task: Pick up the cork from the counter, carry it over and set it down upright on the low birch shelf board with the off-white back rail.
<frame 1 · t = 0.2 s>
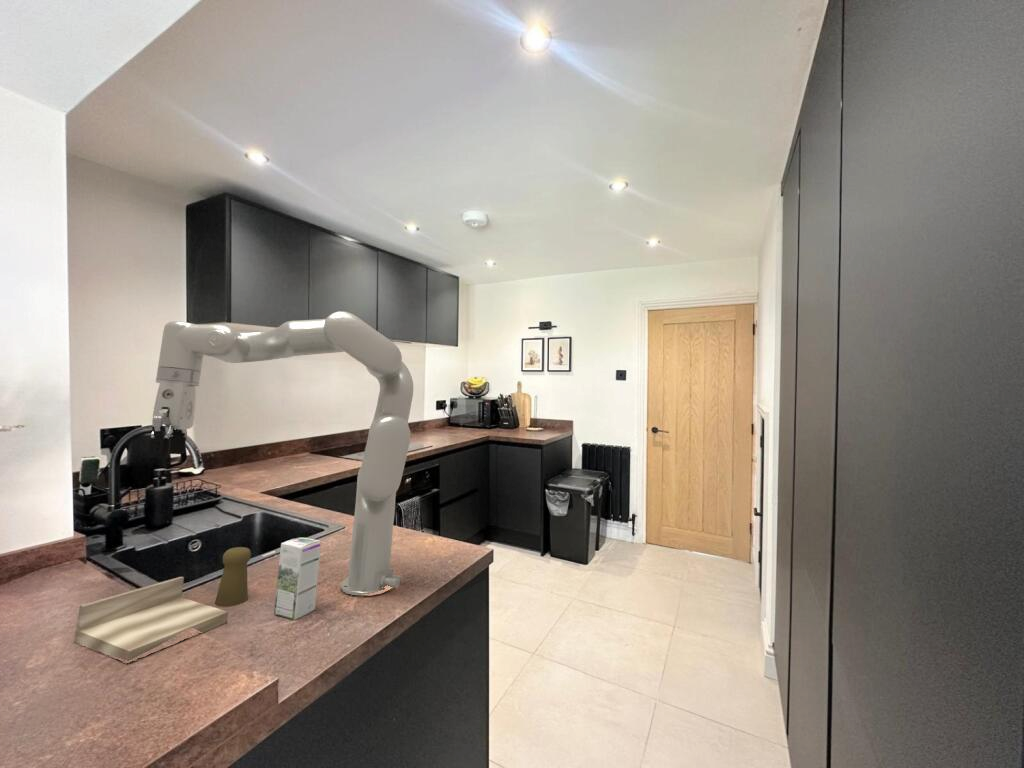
hand: (167, 455, 90), 30 cm above the counter, tool pointing down, fingers open, 9 cm apart
shelf: (155, 631, 76), on the counter
syrup box: (294, 613, 86), on the counter
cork: (231, 601, 90), on the counter
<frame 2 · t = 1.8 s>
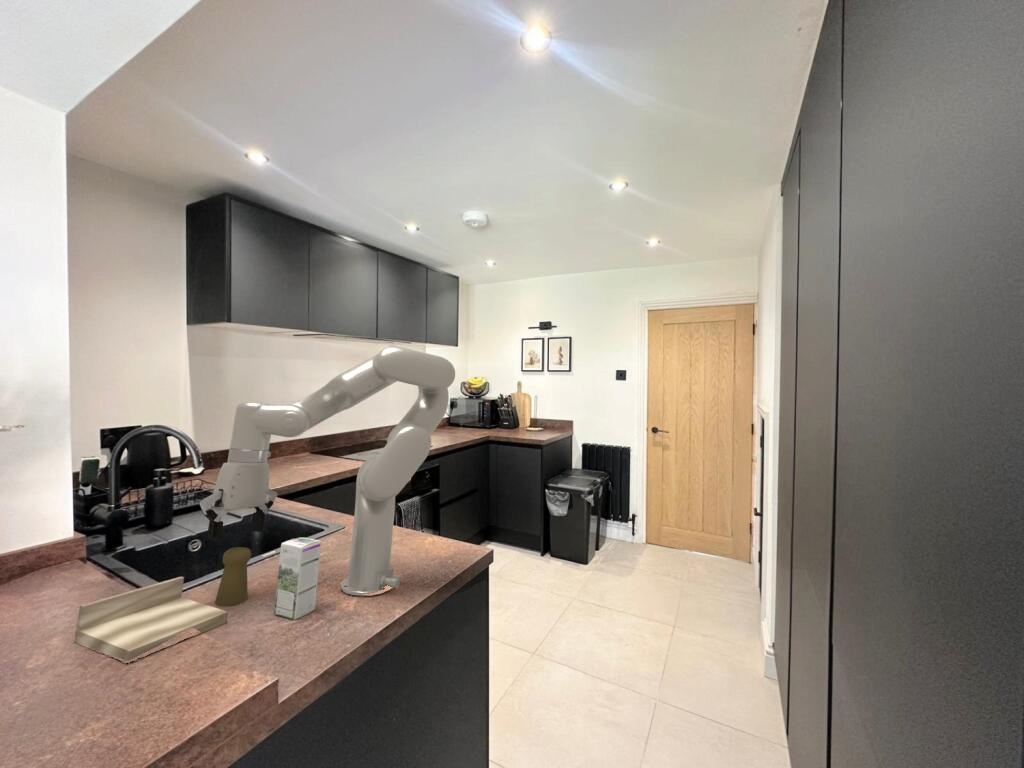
hand: (236, 535, 91), 14 cm above the counter, tool pointing down, fingers open, 9 cm apart
nothing on the counter moved.
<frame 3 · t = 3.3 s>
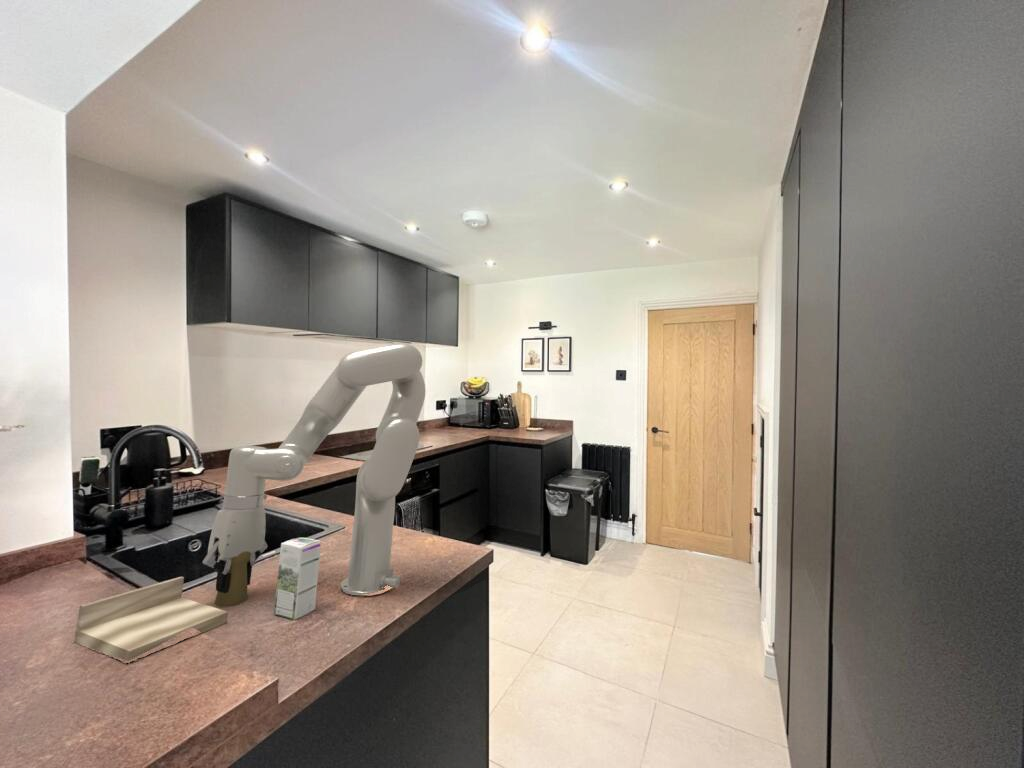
hand: (233, 586, 90), 3 cm above the counter, tool pointing down, fingers closed on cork, 4 cm apart
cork: (231, 601, 90), on the counter, touching gripper
everything else where it was.
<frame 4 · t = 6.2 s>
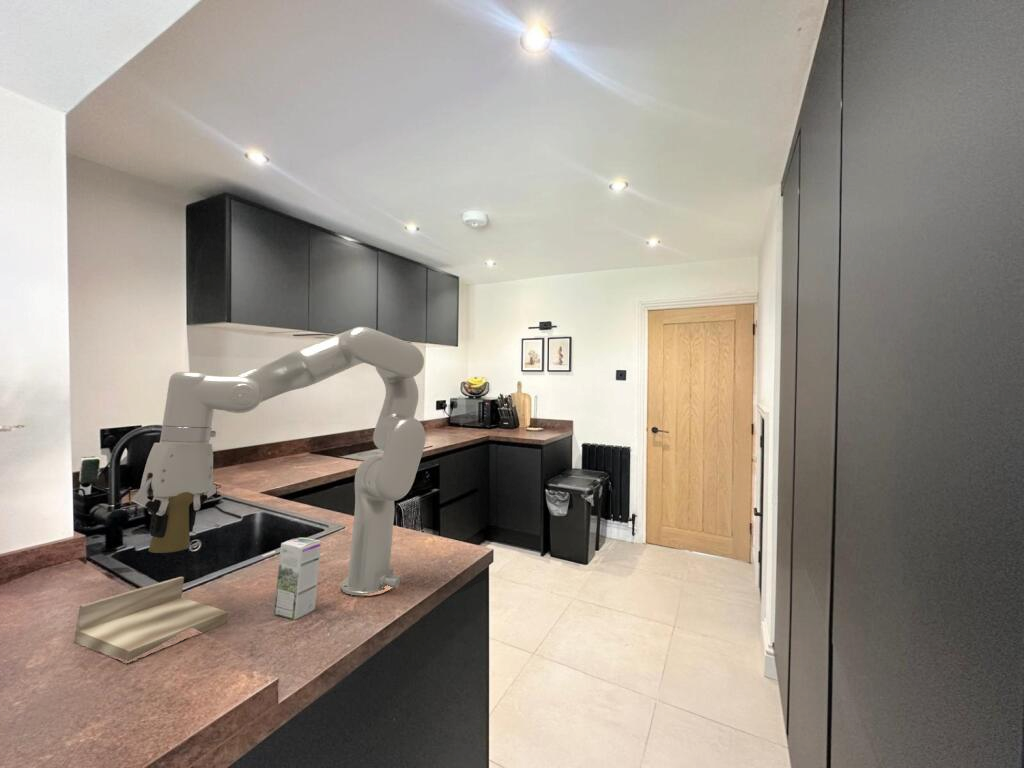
hand: (171, 532, 78), 17 cm above the counter, tool pointing down, fingers closed on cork, 4 cm apart
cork: (169, 549, 78), point 14 cm above the counter, touching gripper
everything else where it was.
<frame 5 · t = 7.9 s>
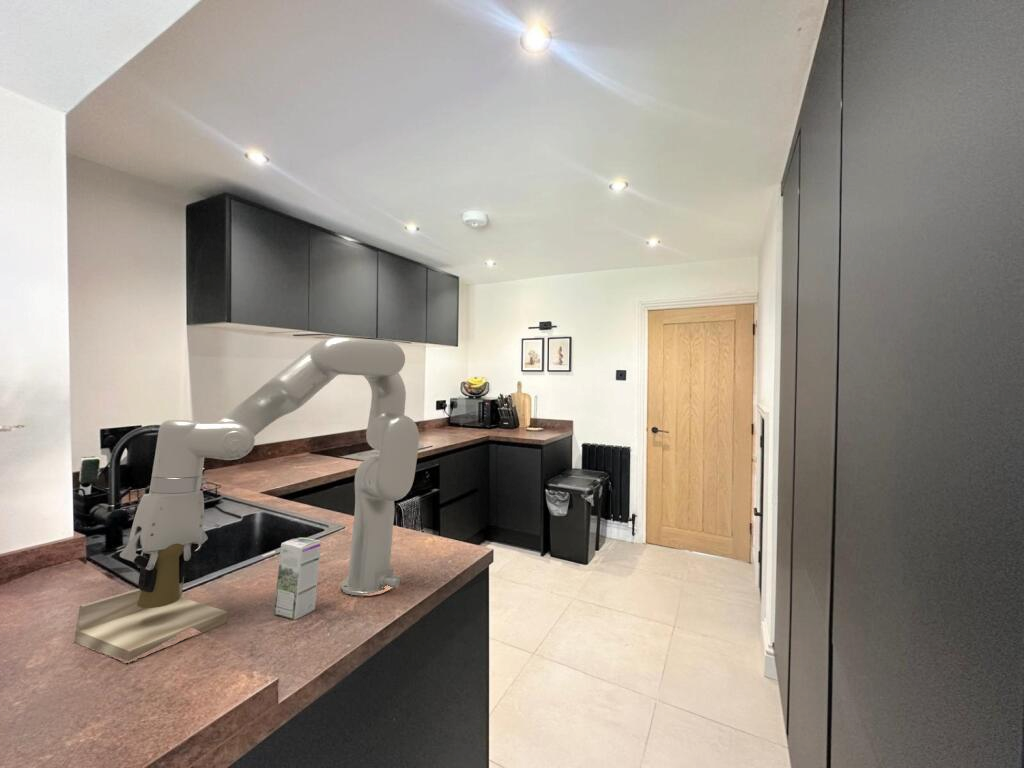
hand: (161, 585, 77), 8 cm above the counter, tool pointing down, fingers closed on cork, 4 cm apart
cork: (158, 602, 76), point 5 cm above the counter, touching gripper
everything else where it was.
when the fingers open (6 cm above the counter, at t = 9.1 s): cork drops 1 cm, resting on shelf.
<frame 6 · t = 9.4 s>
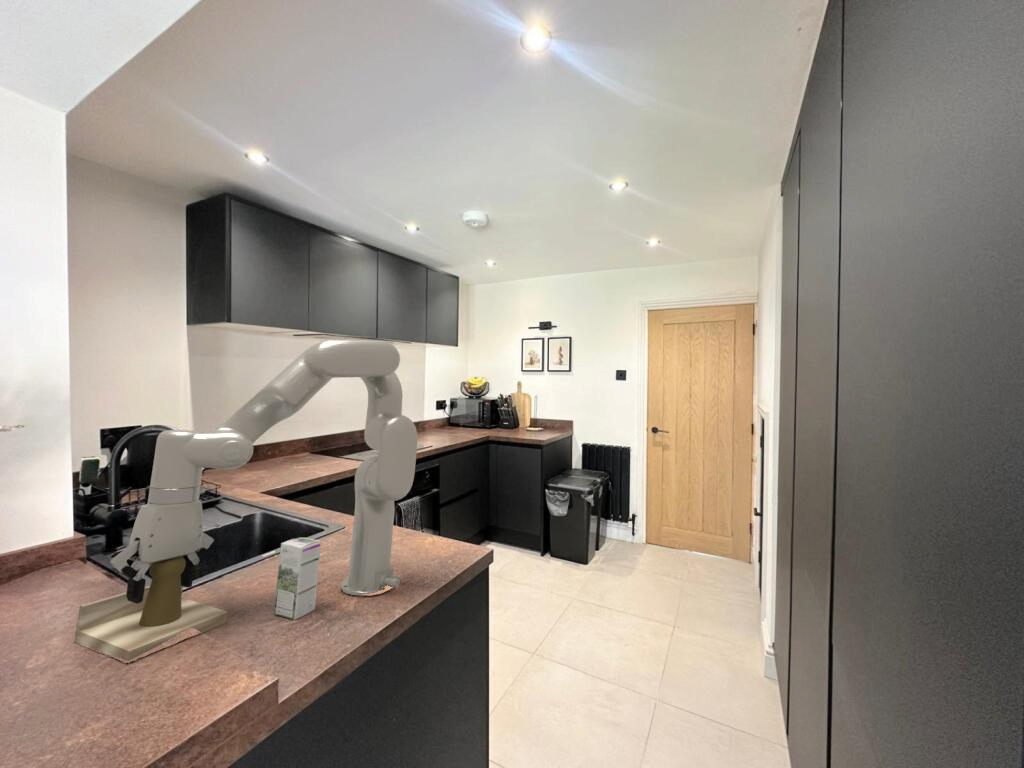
hand: (160, 592, 76), 7 cm above the counter, tool pointing down, fingers open, 7 cm apart
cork: (160, 620, 76), point 2 cm above the counter, touching shelf
everything else where it was.
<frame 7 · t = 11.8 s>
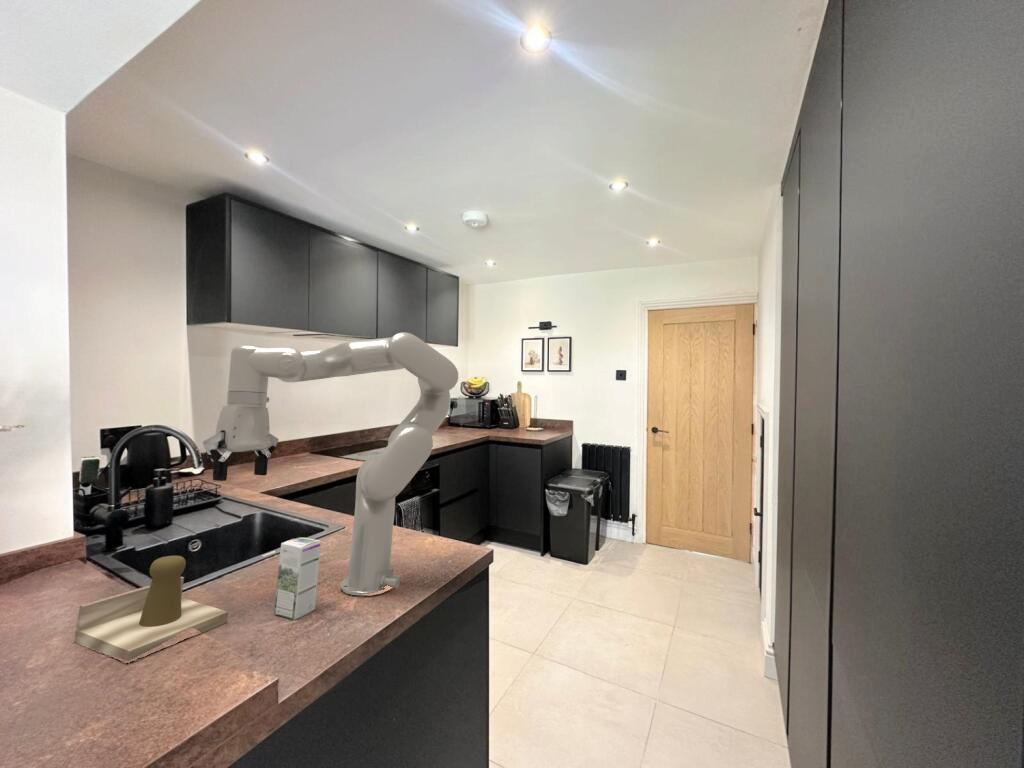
hand: (240, 477, 92), 26 cm above the counter, tool pointing down, fingers open, 9 cm apart
nothing on the counter moved.
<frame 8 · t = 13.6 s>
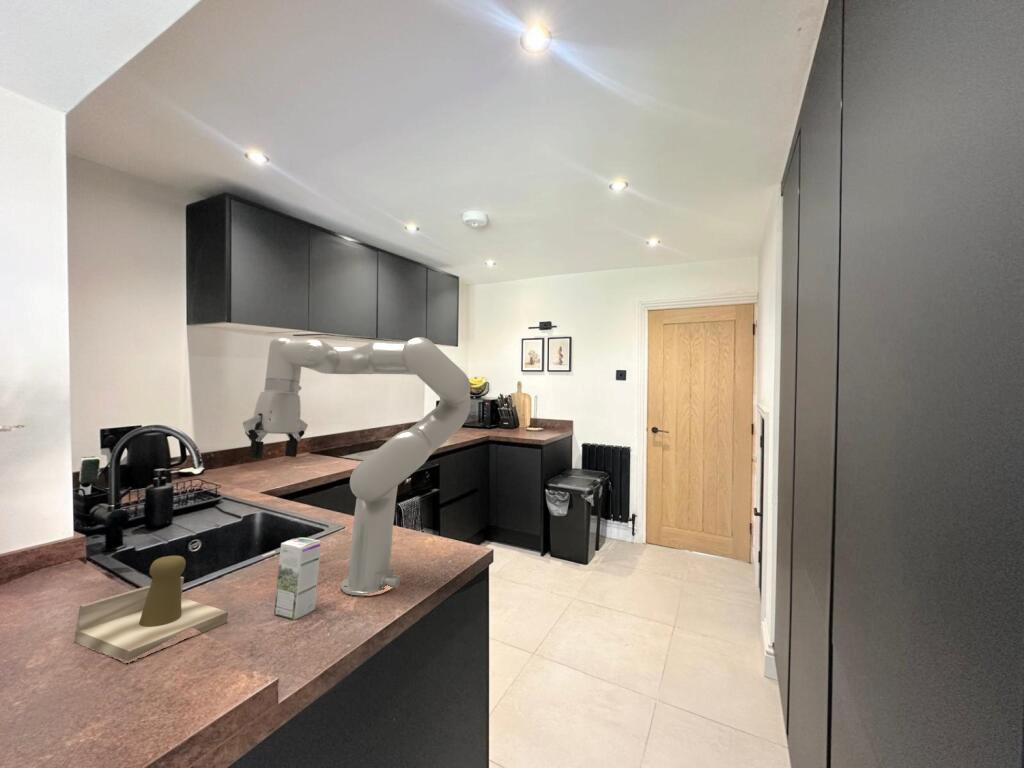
hand: (273, 457, 101), 30 cm above the counter, tool pointing down, fingers open, 9 cm apart
nothing on the counter moved.
at the end: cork inside the target area on the shelf (0.6 cm from its centre), point 1.8 cm above the shelf's base; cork tilted 0°; the gripper is holding nothing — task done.
